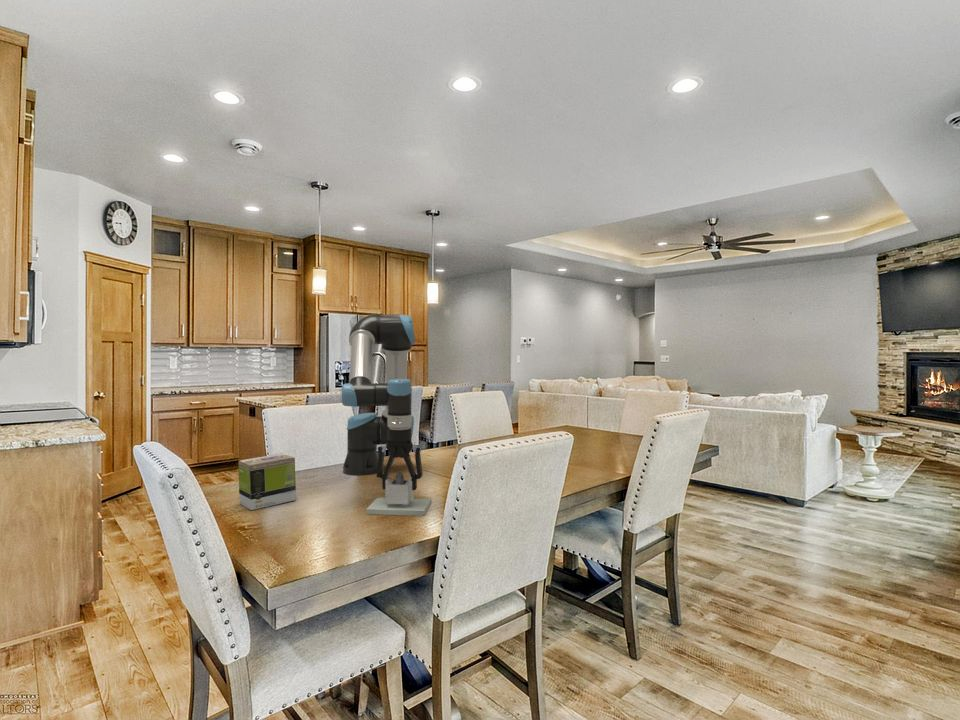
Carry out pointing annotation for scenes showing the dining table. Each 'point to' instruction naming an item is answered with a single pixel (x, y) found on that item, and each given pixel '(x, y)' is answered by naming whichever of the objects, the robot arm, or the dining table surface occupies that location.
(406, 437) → the robot arm
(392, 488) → the collar
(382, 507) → the post block
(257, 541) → the dining table surface
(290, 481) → the tea box
